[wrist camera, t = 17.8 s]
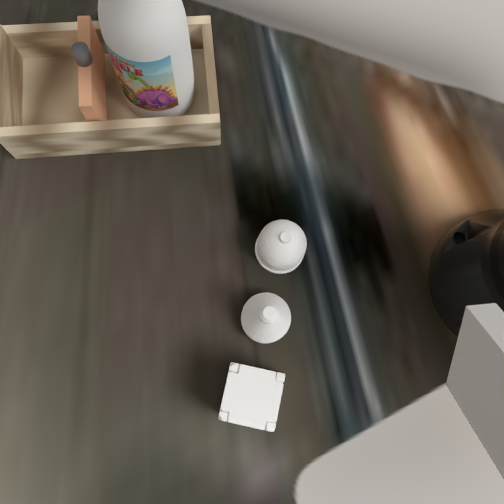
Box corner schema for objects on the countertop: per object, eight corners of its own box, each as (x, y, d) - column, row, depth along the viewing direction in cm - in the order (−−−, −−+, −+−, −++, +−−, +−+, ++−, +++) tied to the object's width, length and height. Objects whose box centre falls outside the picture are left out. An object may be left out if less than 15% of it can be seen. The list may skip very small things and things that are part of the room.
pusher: (106, 54, 52) (87, 3, 45) (109, 135, 50) (89, 96, 43) (92, 55, 52) (70, 4, 45) (94, 136, 50) (71, 97, 43)
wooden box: (211, 46, 55) (209, 1, 48) (220, 145, 52) (220, 111, 45) (17, 56, 53) (-13, 11, 46) (16, 159, 50) (-17, 126, 43)
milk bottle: (154, 50, 53) (112, -131, 34) (209, 87, 52) (199, -77, 33) (111, 99, 51) (41, -62, 32) (167, 137, 51) (131, -4, 31)
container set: (270, 425, 46) (276, 432, 40) (217, 413, 46) (216, 419, 40) (307, 232, 50) (317, 216, 45) (260, 221, 50) (264, 204, 45)
